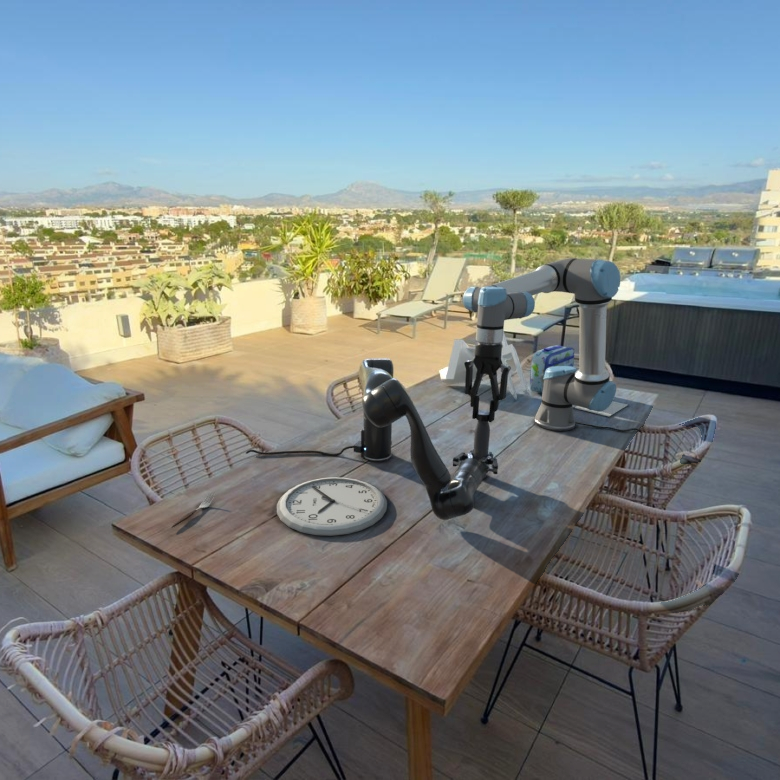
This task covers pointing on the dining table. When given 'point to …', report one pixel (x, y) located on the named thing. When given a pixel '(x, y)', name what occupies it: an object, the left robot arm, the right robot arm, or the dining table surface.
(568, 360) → the lunch box
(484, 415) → the cap
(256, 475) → the dining table surface
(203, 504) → the fork
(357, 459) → the dining table surface
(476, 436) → the bottle
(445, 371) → the white plastic object
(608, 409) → the invitation card
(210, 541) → the dining table surface
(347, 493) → the wall clock
